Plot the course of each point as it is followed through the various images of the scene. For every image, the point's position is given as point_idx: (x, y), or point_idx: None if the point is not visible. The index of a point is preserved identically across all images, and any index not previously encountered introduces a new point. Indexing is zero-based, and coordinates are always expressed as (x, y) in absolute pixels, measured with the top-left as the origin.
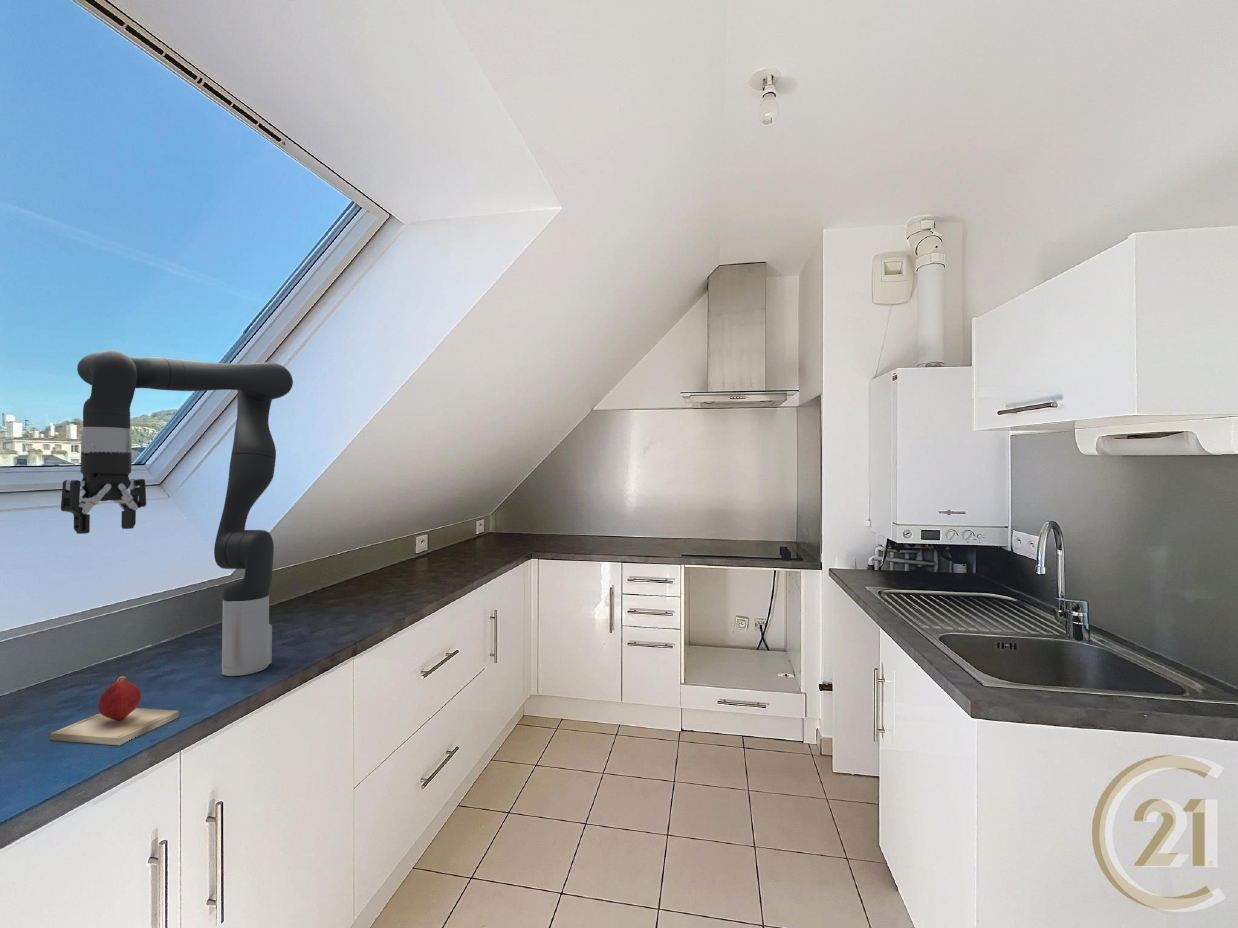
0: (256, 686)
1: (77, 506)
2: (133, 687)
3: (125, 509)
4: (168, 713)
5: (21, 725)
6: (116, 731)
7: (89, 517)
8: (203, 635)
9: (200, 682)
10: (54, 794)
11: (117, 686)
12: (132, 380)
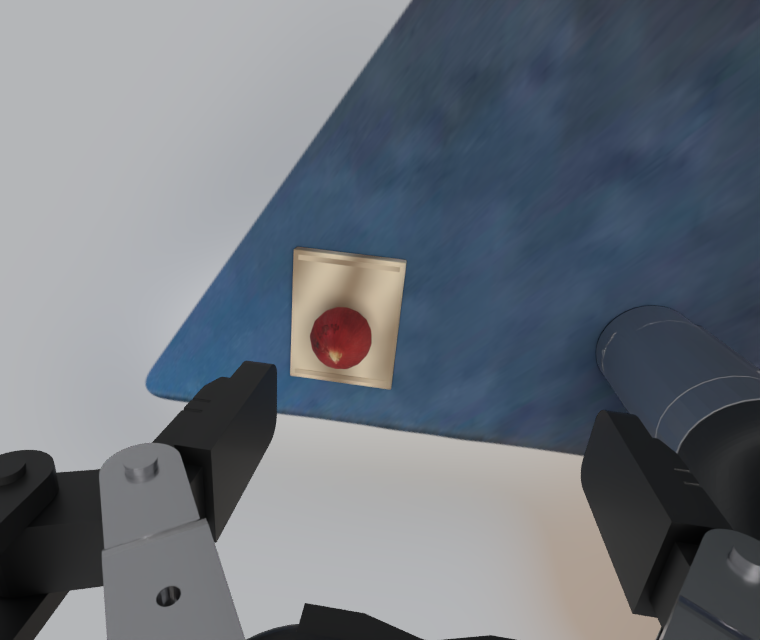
0: (530, 425)
1: (45, 604)
2: (342, 368)
3: (676, 572)
4: (377, 381)
5: (345, 121)
6: (310, 352)
7: (226, 519)
8: None
9: (566, 303)
10: (177, 396)
11: (323, 356)
12: None
